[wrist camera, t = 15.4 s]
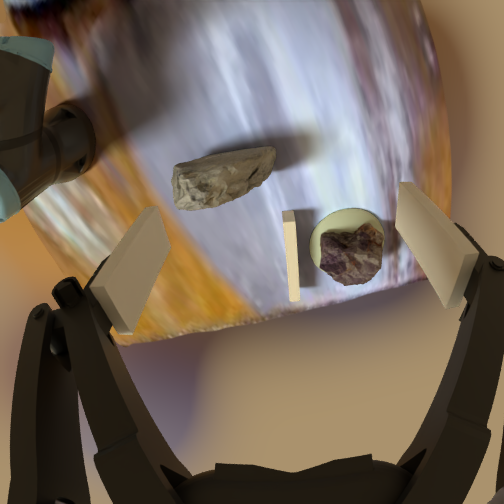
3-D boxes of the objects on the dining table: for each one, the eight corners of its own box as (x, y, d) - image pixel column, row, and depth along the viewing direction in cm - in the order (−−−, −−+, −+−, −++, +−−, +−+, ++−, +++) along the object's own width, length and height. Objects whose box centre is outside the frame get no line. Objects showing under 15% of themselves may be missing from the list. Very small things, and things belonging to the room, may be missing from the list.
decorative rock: (184, 188, 48) (156, 233, 36) (175, 152, 44) (140, 186, 32) (279, 174, 46) (284, 216, 34) (273, 135, 42) (277, 163, 30)
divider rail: (288, 288, 60) (289, 301, 56) (281, 211, 50) (283, 222, 46) (298, 287, 60) (299, 300, 56) (293, 210, 49) (295, 221, 46)
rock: (320, 219, 51) (319, 264, 56) (319, 244, 44) (318, 292, 49) (382, 220, 48) (376, 265, 54) (391, 246, 41) (382, 294, 47)
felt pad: (310, 277, 58) (310, 279, 57) (307, 211, 49) (308, 213, 49) (379, 270, 56) (379, 272, 56) (386, 205, 48) (388, 207, 47)
